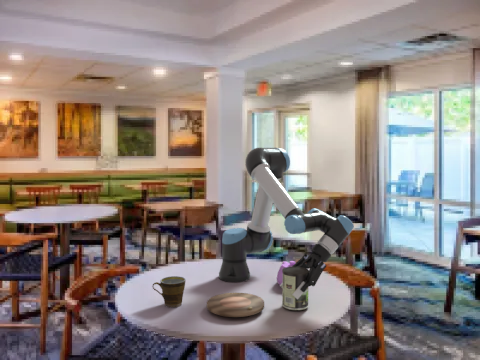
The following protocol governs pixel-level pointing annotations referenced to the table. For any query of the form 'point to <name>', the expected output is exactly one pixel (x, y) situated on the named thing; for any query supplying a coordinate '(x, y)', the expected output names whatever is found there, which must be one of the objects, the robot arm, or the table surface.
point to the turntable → (235, 304)
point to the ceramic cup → (172, 290)
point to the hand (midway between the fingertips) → (288, 292)
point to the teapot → (280, 273)
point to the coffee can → (294, 288)
